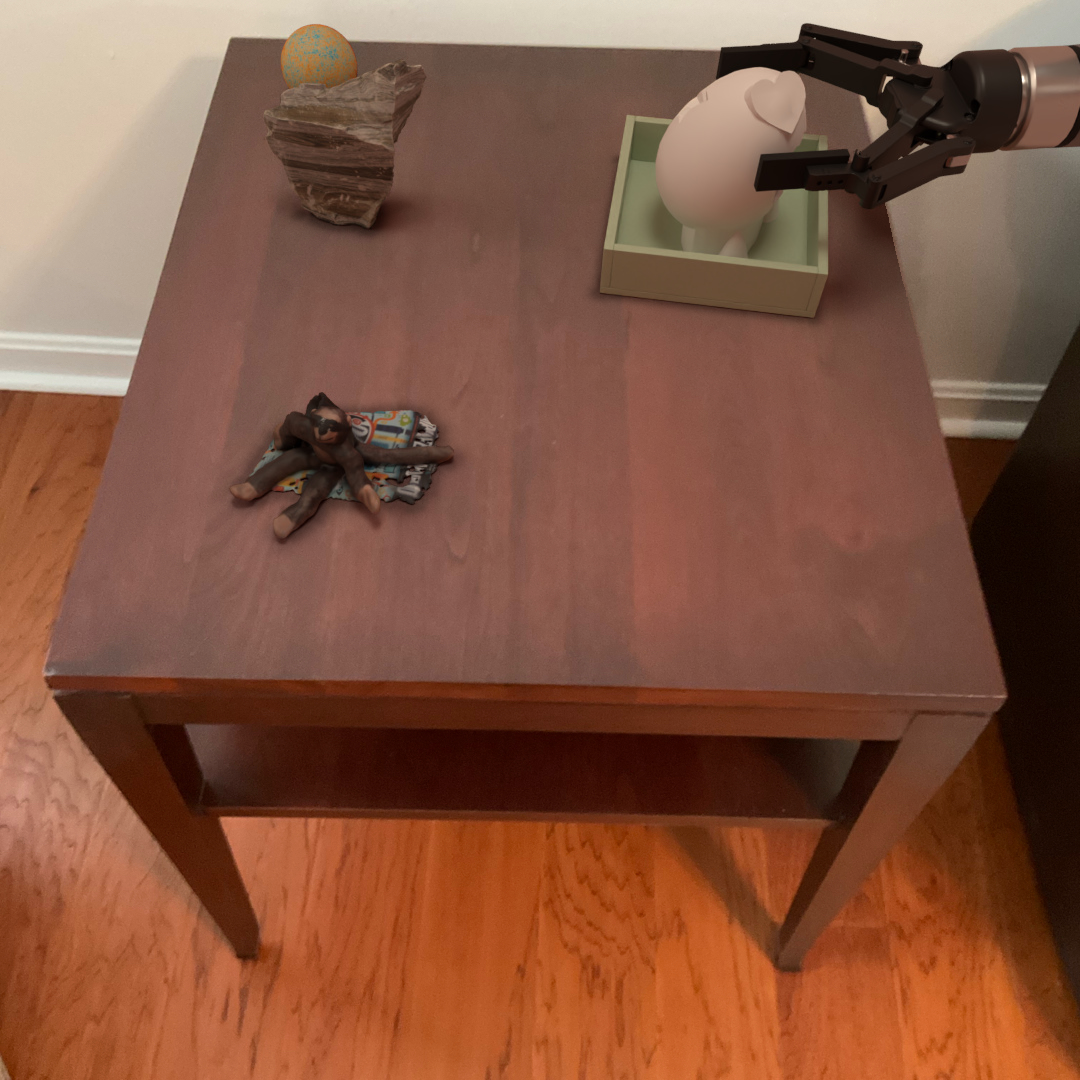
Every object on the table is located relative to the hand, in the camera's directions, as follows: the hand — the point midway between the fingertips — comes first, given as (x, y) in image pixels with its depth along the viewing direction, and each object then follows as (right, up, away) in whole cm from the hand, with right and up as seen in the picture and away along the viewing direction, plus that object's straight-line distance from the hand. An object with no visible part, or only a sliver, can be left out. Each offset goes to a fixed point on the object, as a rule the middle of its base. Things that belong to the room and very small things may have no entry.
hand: (737, 116), depth 79 cm
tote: (0, -6, +10) cm, 12 cm away
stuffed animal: (-30, -28, -5) cm, 41 cm away
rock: (-31, -4, +11) cm, 33 cm away
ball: (-36, +10, +20) cm, 42 cm away
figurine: (0, -6, +9) cm, 11 cm away
